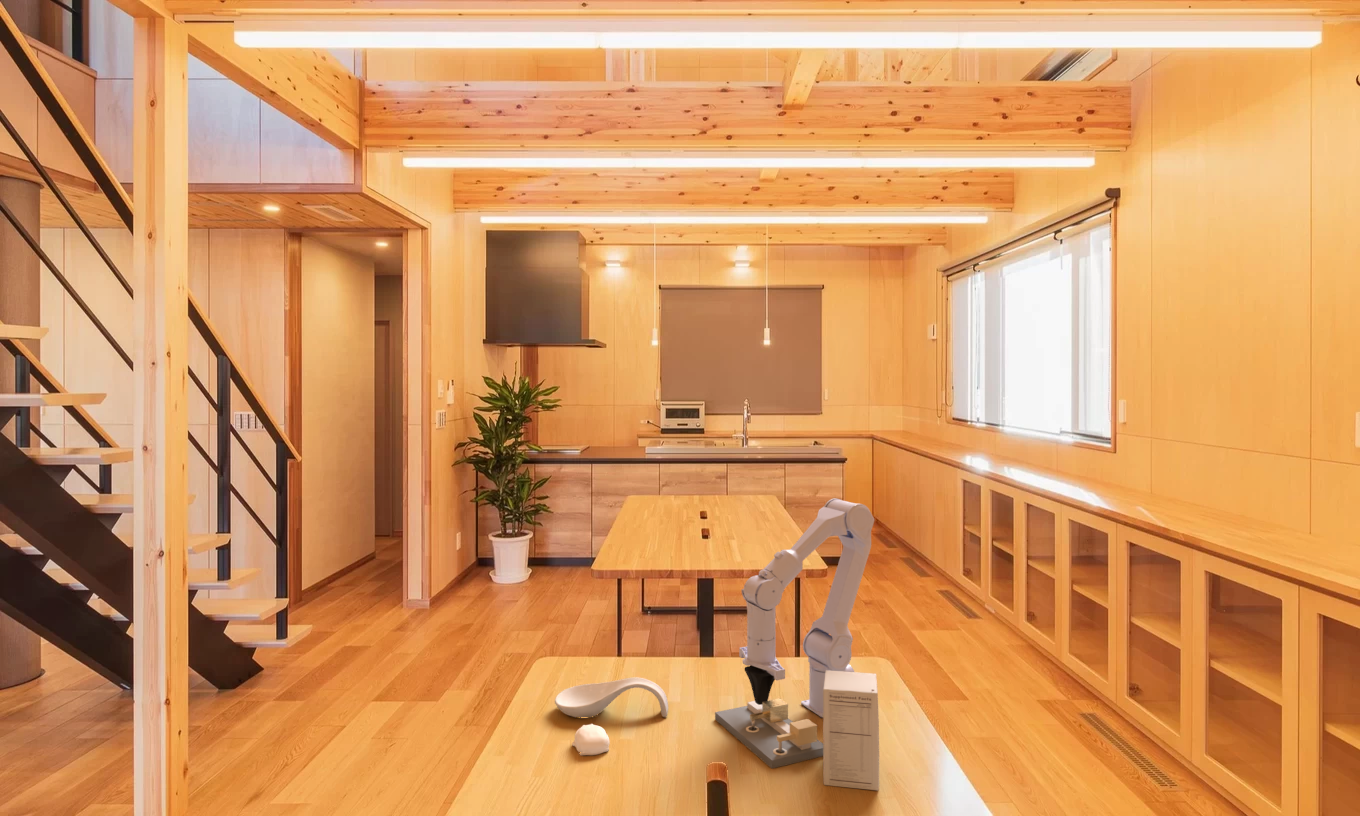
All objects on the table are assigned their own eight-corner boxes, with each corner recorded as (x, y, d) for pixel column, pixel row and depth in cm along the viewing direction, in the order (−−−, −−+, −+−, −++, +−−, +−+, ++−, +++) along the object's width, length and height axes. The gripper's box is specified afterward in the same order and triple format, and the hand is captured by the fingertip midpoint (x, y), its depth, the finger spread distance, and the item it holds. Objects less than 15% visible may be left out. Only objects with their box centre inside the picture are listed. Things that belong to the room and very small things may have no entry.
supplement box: (878, 765, 136) (878, 672, 136) (879, 792, 127) (880, 693, 127) (824, 759, 139) (824, 668, 138) (822, 785, 130) (822, 688, 129)
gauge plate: (765, 708, 160) (765, 682, 160) (827, 754, 140) (827, 724, 140) (715, 719, 155) (715, 691, 155) (771, 768, 135) (771, 737, 135)
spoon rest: (549, 725, 153) (549, 690, 153) (560, 701, 165) (560, 668, 165) (666, 726, 153) (666, 691, 152) (669, 702, 164) (669, 669, 164)
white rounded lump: (569, 741, 146) (569, 722, 146) (603, 736, 149) (603, 717, 148) (578, 761, 139) (578, 740, 139) (614, 754, 141) (614, 734, 141)
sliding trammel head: (779, 719, 151) (779, 698, 151) (787, 725, 149) (787, 704, 149) (747, 726, 148) (747, 705, 148) (754, 732, 146) (754, 711, 145)
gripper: (726, 628, 158) (726, 693, 159) (763, 650, 145) (763, 720, 146) (755, 624, 161) (755, 687, 162) (794, 645, 148) (794, 713, 149)
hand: (761, 702), depth 154 cm, fingers closed
